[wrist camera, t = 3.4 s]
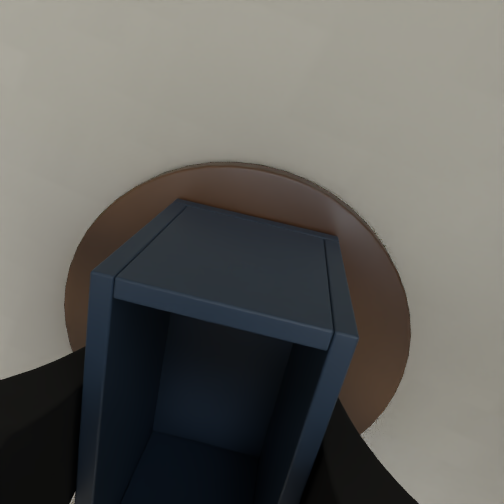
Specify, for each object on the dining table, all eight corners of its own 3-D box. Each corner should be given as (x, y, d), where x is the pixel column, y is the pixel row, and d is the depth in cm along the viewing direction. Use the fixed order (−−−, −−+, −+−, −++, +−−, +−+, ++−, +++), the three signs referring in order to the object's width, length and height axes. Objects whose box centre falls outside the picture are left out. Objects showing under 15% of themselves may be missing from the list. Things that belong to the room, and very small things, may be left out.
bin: (263, 479, 18) (244, 657, 12) (140, 448, 18) (66, 608, 12) (338, 236, 14) (360, 337, 8) (176, 197, 14) (89, 270, 8)
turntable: (281, 500, 19) (280, 516, 19) (29, 358, 18) (17, 369, 18) (485, 293, 15) (494, 304, 14) (164, 82, 14) (155, 82, 13)
